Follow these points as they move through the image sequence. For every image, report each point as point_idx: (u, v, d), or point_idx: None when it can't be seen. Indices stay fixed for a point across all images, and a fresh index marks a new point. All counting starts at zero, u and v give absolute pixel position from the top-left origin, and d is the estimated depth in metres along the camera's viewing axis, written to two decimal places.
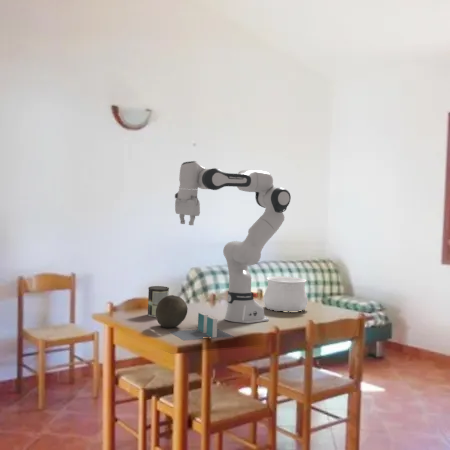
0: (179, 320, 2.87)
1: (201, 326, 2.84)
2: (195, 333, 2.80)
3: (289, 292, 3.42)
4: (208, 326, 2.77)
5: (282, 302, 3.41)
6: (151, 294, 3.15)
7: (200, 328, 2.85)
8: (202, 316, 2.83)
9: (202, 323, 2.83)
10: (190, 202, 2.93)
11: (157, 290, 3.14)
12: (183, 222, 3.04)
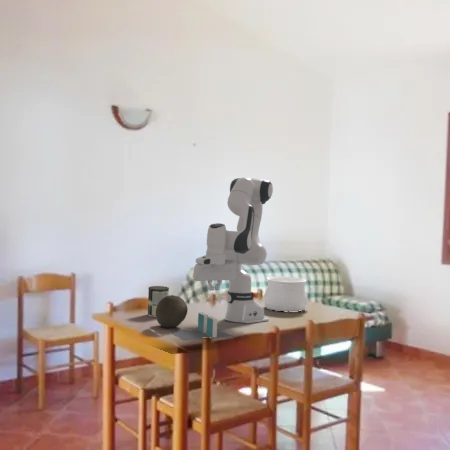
0: (179, 320, 2.87)
1: (201, 326, 2.84)
2: (195, 333, 2.80)
3: (289, 292, 3.42)
4: (208, 326, 2.77)
5: (282, 302, 3.41)
6: (151, 294, 3.15)
7: (200, 328, 2.85)
8: (202, 316, 2.83)
9: (202, 323, 2.83)
10: (230, 266, 2.87)
11: (157, 290, 3.14)
12: None
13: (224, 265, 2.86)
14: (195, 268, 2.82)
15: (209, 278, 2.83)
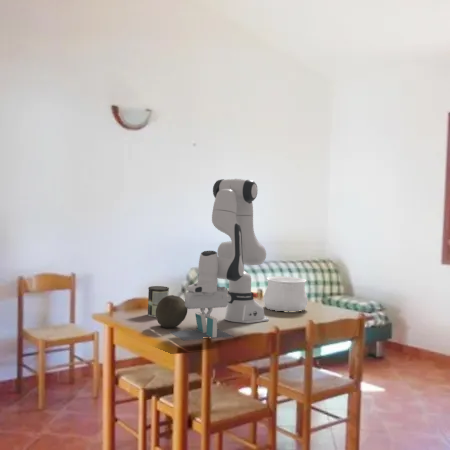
0: (179, 320, 2.87)
1: (200, 326, 2.84)
2: (195, 333, 2.80)
3: (289, 292, 3.42)
4: (208, 326, 2.77)
5: (282, 302, 3.41)
6: (151, 294, 3.15)
7: (199, 328, 2.84)
8: (199, 317, 2.82)
9: (200, 323, 2.82)
10: (222, 294, 2.86)
11: (157, 290, 3.14)
12: None
13: (216, 292, 2.85)
14: (187, 296, 2.81)
15: (201, 306, 2.82)
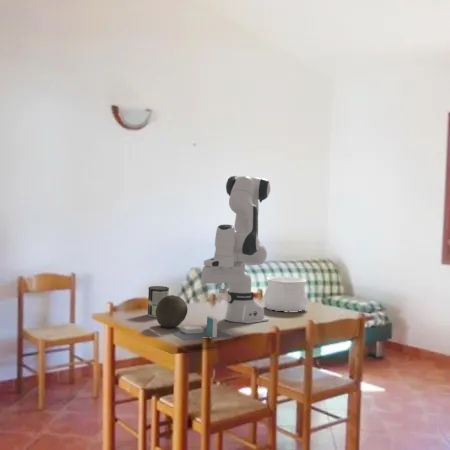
0: (179, 320, 2.87)
1: None
2: (195, 333, 2.80)
3: (289, 292, 3.42)
4: (208, 326, 2.77)
5: (282, 302, 3.41)
6: (151, 294, 3.15)
7: None
8: None
9: None
10: (239, 269, 2.80)
11: (157, 290, 3.14)
12: None
13: (233, 267, 2.78)
14: (203, 270, 2.74)
15: (217, 281, 2.75)
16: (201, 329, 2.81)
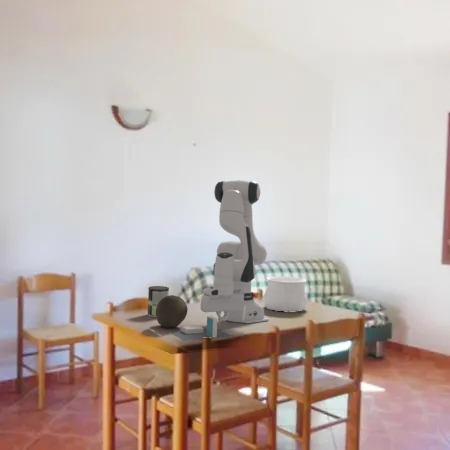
0: (179, 320, 2.87)
1: None
2: (195, 333, 2.80)
3: (289, 292, 3.42)
4: (208, 326, 2.77)
5: (282, 302, 3.41)
6: (151, 294, 3.15)
7: None
8: None
9: None
10: (238, 297, 2.80)
11: (157, 290, 3.14)
12: None
13: (232, 295, 2.79)
14: (202, 299, 2.75)
15: (217, 309, 2.76)
16: (201, 329, 2.81)
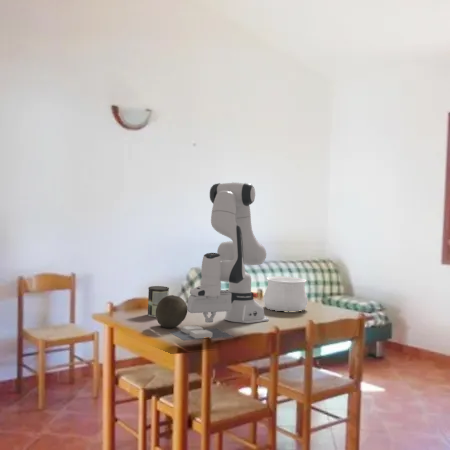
0: (179, 320, 2.87)
1: None
2: None
3: (289, 292, 3.42)
4: None
5: (282, 302, 3.41)
6: (151, 294, 3.15)
7: None
8: None
9: None
10: (225, 297, 2.77)
11: (157, 290, 3.14)
12: None
13: (219, 296, 2.76)
14: (189, 300, 2.72)
15: (204, 310, 2.72)
16: (201, 329, 2.81)
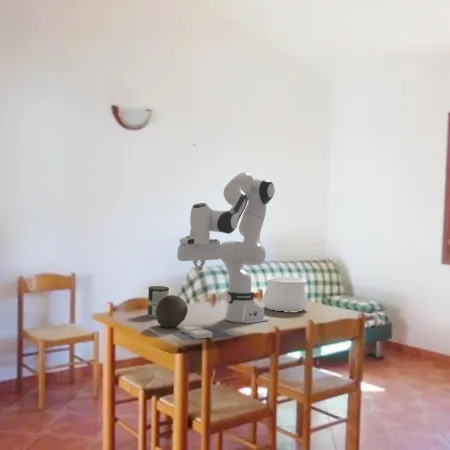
0: (179, 320, 2.87)
1: None
2: None
3: (289, 292, 3.42)
4: None
5: (282, 302, 3.41)
6: (151, 294, 3.15)
7: None
8: None
9: None
10: (214, 246, 2.86)
11: (157, 290, 3.14)
12: None
13: (208, 245, 2.85)
14: (179, 248, 2.81)
15: (193, 258, 2.82)
16: (201, 329, 2.81)
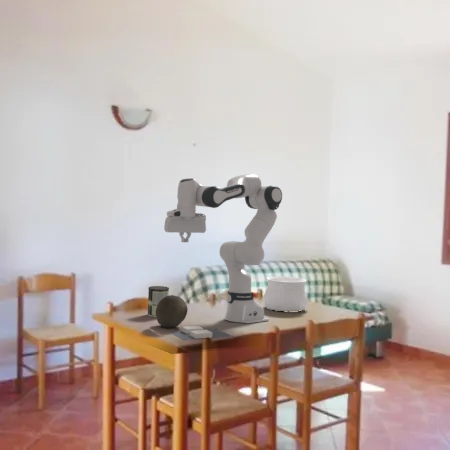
0: (179, 320, 2.87)
1: None
2: None
3: (289, 292, 3.42)
4: None
5: (282, 302, 3.41)
6: (151, 294, 3.15)
7: None
8: None
9: None
10: (200, 220, 3.00)
11: (157, 290, 3.14)
12: None
13: (194, 218, 2.98)
14: (166, 220, 2.94)
15: (179, 230, 2.95)
16: (201, 329, 2.81)
